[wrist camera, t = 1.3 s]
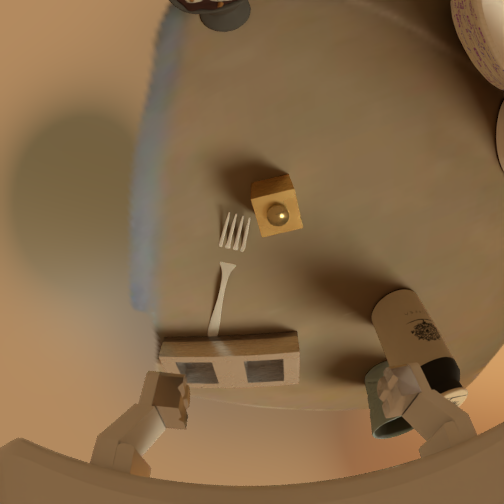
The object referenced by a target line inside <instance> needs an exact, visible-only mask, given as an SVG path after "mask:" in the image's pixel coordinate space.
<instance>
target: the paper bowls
mask: <svg viewBox="0 0 504 504" xmlns="http://www.w3.org/2000/svg"><path fill="white" fill-rule="evenodd" d="M451 13H452V19H453V23H454V26H455V29H456V32H457V35H458V37H459V39H460V41H461V43H462V45H463V47H464V49H465V51H466V53H467V54H468V56H469V58H470V60H471V61H472V63H473V64H474V66H475V67H476V68H477V69H478V71H479V72H480V73H481V74H482V75H483V76H484V77H485V78H486V79H487V80H488V81H489V82H490V83H491V84H492V85H494V86H495V87H497V88H499V89H501V90H503V91H504V0H451Z"/></svg>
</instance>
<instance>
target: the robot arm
mask: <svg viewBox="0 0 504 504" xmlns="http://www.w3.org/2000/svg"><path fill="white" fill-rule="evenodd" d="M496 143H497V152H498V157H499V161H500V164H501V167H502V169H503V171H504V101H503V103H502V105H501V108H500V111H499V115H498V120H497V129H496ZM383 373H384V376H382V377H381V378H380V379H379V381H378V383H377V394H378V397H379V399H380V400H382V401H383V404H382V409H383V412H384V415H385V418H392V417H397V416H402V417H403V418H404V419H405V420H406V421H407V422H408V423H409V424H410V425H411V426H412V427H413V428H414V429H415V430H416V431H417V432H418V433H419V434H420V435H421V436H422V437H423V438H424V439H425V440H426V442H425V443H424V444H423V445H422V446H421V447H420V448H419V452H420V456H421V458H420V459H417V460H414V461H410V462H407V463H404V464H400V465H397V466H393V467H390V468H386V469H382V470H378V471H374V472H369V473H365V474H360V475H355V476H350V477H344V478H338V479H332V480H326V481H318V482H310V483H300V484H288V485H271V486H223V485H206V484H194V483H184V482H176V481H169V480H162V479H156V478H150V473H151V467H150V466H149V465H148V464H147V462H146V461H145V460H144V459H143V458H142V456H143V455H144V453H145V452H146V451H147V450H148V449H149V448H150V446H151V445H152V444H153V443H154V442H155V441H156V439H158V437H159V436H160V435H161V434H162V433H163V432H164V431H165V429H166V428H174V429H186V426H187V419H188V414H187V411H186V409H187V408H188V407H189V404H190V389H189V385H187V377H186V375H185V374H174V373H164V372H156V371H148V373H147V374H146V378H145V381H144V385H143V389H142V392H141V396H140V400H139V404H134V405H133V406H132V407H131V408H130V409H128V410H127V411H126V412H125V413H124V414H123V415H121V416H120V417H119V418H118V419H117V420H116V421H115V422H114V423H112V424H111V425H110V426H109V427H108V428H106V429H105V430H104V431H103V432H102V433H101V434H99V435H98V436H97V440H96V443H95V447H94V450H93V454H92V458H91V461H90V463H87V462H84V461H81V460H78V459H75V458H72V457H68V456H66V455H63V454H60V453H58V452H55V451H52V450H50V449H47V448H45V447H42V446H40V445H38V444H35V443H33V442H31V441H29V440H26V439H23V438H17V439H14V440H13V441H11V442H9V443H7V444H6V445H4V446H2V447H1V448H0V504H504V422H503V423H501V424H499V425H497V426H495V427H493V428H491V429H489V430H488V431H485V432H484V433H481V434H480V435H477V433H476V431H475V429H474V426H473V424H472V422H471V420H470V417H469V415H468V414H467V413H466V412H465V411H463V410H462V409H460V408H459V407H458V406H456V405H455V404H453V403H452V402H451V401H449V400H448V399H447V398H445V397H444V396H442V395H441V394H440V393H438V392H437V391H436V390H431V388H430V386H429V383H428V381H427V379H426V377H425V375H424V373H423V371H422V369H421V367H420V365H419V364H418V363H417V362H414V363H409V364H402V365H396V366H390V367H387V368H385V370H384V372H383Z"/></svg>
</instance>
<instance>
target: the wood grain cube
mask: <svg viewBox="0 0 504 504" xmlns="http://www.w3.org/2000/svg"><path fill="white" fill-rule="evenodd" d="M251 202H252V205H253V208H254V212H255V215H256V218H257V222H258V225H259V229H260V232H261V235H262V237H266V236H270V235H275V234H279V233H283V232H287V231H292V230H296V229H300V228H303V225H302V221H301V216H300V212H299V207H298V203H297V198H296V194H295V190H294V187H293V184H292V182H291V179H290V177H289V174H286V175H282V176H278V177H274V178H270V179H266V180H262V181H258V182H254V183H251Z"/></svg>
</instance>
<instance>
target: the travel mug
mask: <svg viewBox="0 0 504 504" xmlns="http://www.w3.org/2000/svg"><path fill="white" fill-rule="evenodd" d="M372 323H373V325H374V328H375V330H376V333H377V335H378V338H379V340H380V343H381V345H382V348H383V351H384V353H385V356H386V358H387V361H388V364H389V366H396V365H402V364H409V363H414V362H417V363H418V364H419V365H420V367H421V369H422V371H423V373H424V375H425V377H426V379H427V381H428V383H429V386H430V388H431V390H436V391H437V392H438V393H440V394H441V395H442V396H444V397H445V398H447V399H448V400H449V401H451V402H452V403H453V404H455V405H456V406H458V407H459V406H460V405H461V404H462V403H463V402H464V400H465V399H466V397H467V395H468V391H467V389H466V388H463V387H462V385H461V384H460V382H459V381H460V370H459V368H458V366H457V364H456V362H455V360H454V358H453V356H452V354H451V352H450V350H449V349H448V347H447V345H446V343H445V341H444V339H443V338H442V336H441V334H440V332H439V331H438V329H437V327H436V325H435V324H434V322H433V320H432V318H431V317H430V315H429V313H428V312H427V310H426V308H425V307H424V305H423V304H422V302H421V300H420V299H419V297H418V296H417V294H416V293H415V292H413V291H411V290H406V289H403V290H397V291H394V292H392V293H390V294H388V295H387V296H385V297H384V298H382V299H381V300H380V301H379V302H378V304H377V305H376V306H375V308H374V310H373V312H372Z"/></svg>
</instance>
